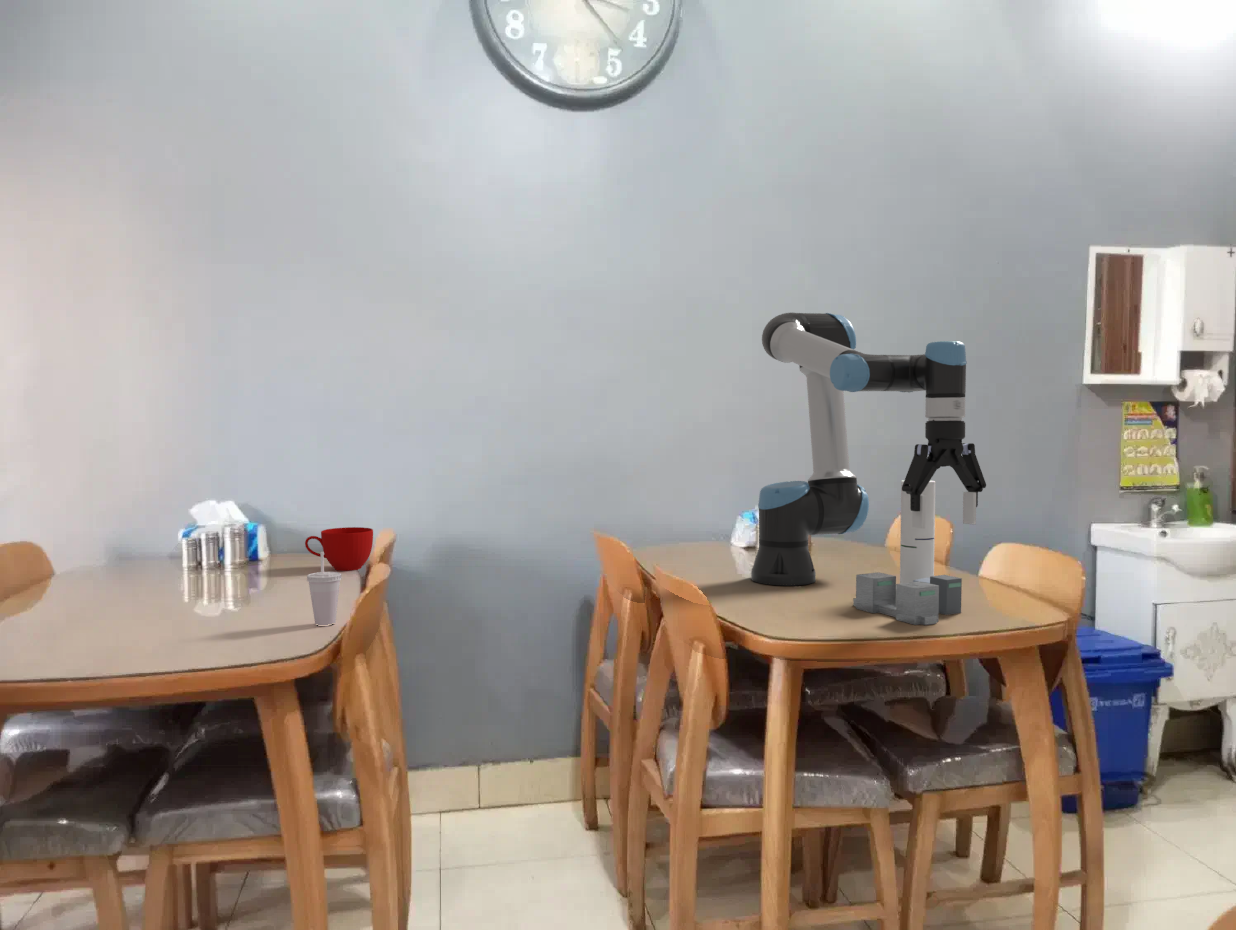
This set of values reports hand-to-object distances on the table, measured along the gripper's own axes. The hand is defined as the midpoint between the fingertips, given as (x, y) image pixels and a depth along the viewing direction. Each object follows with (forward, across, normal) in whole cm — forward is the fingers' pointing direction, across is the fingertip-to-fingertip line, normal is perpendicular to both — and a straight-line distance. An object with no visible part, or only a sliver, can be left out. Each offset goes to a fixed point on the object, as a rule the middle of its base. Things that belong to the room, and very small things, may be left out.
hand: (944, 526), depth 187 cm
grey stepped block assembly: (+17, -10, +3) cm, 20 cm away
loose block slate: (+17, +4, +7) cm, 19 cm away
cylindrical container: (+17, +8, +16) cm, 25 cm away
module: (+17, +1, 0) cm, 17 cm away
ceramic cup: (+16, -100, +109) cm, 149 cm away
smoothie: (+17, -113, +46) cm, 123 cm away
